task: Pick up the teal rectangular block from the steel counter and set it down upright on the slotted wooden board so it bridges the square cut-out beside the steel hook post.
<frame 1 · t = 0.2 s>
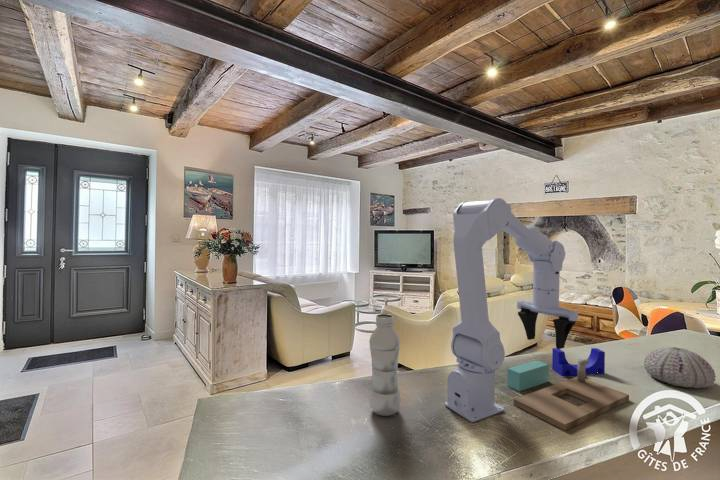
hand: (545, 343, 85), 10 cm above the countertop, tool pointing down, fingers open, 7 cm apart
plastic bottle: (384, 412, 71), on the countertop
sea urchin shell: (677, 381, 85), on the countertop
slotted wooden board: (572, 402, 74), on the countertop
blue concave arch block: (579, 374, 90), on the countertop
teal rectangular block: (528, 384, 84), on the countertop
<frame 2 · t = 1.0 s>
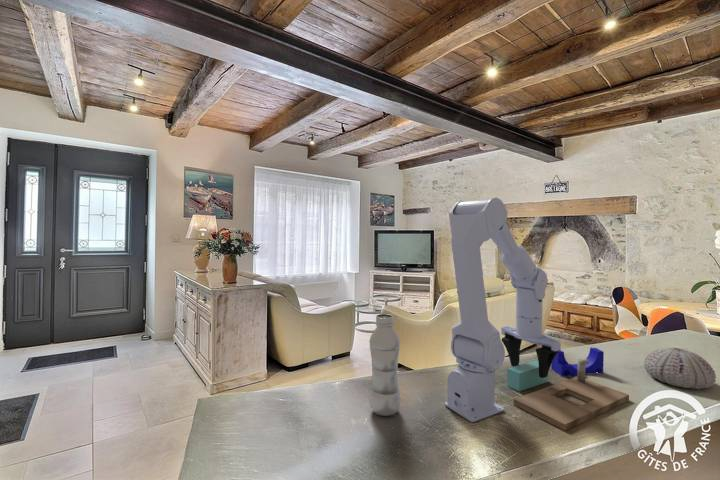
hand: (528, 371, 84), 3 cm above the countertop, tool pointing down, fingers open, 7 cm apart
nothing on the countertop moved.
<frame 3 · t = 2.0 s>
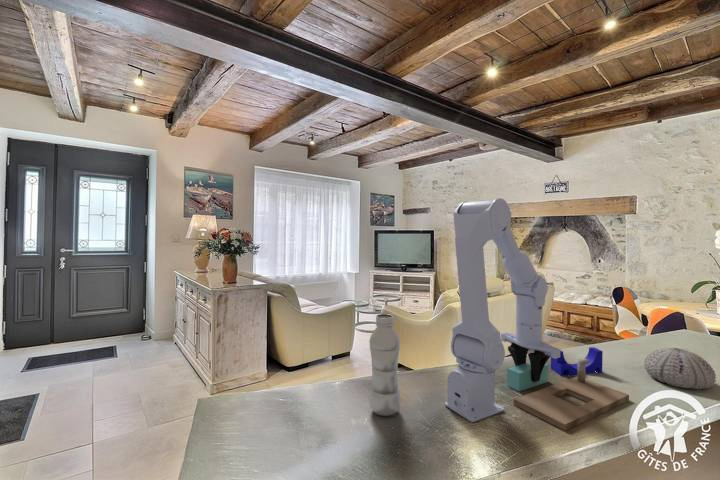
hand: (528, 377, 84), 1 cm above the countertop, tool pointing down, fingers closed on teal rectangular block, 3 cm apart
teal rectangular block: (528, 384, 84), on the countertop, touching gripper
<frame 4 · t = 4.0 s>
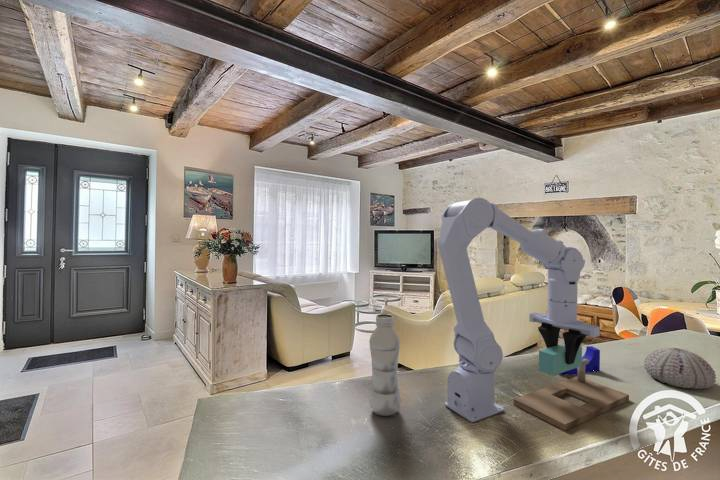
hand: (561, 360, 76), 8 cm above the countertop, tool pointing down, fingers closed on teal rectangular block, 3 cm apart
teal rectangular block: (560, 368, 76), point 7 cm above the countertop, touching gripper
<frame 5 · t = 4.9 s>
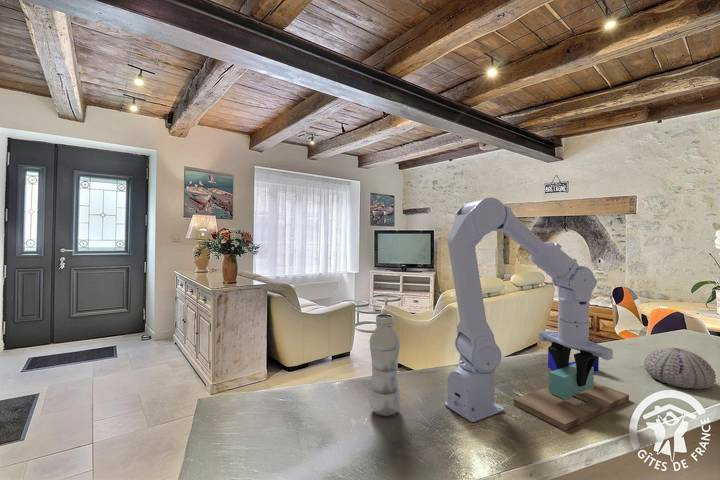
hand: (572, 381, 74), 5 cm above the countertop, tool pointing down, fingers closed on teal rectangular block, 3 cm apart
teal rectangular block: (571, 390, 74), point 3 cm above the countertop, touching gripper
when the fingers open (4 cm above the countertop, at t = 5.8 s): teal rectangular block stays where it is, resting on slotted wooden board.
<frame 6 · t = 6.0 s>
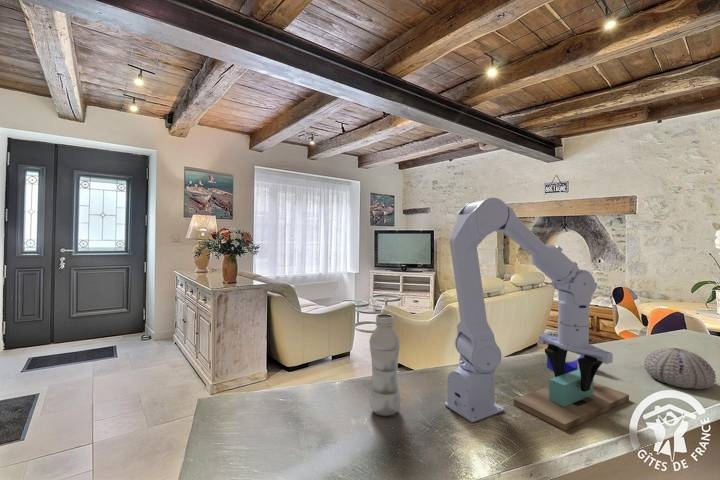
hand: (572, 385, 74), 4 cm above the countertop, tool pointing down, fingers open, 5 cm apart
teal rectangular block: (571, 397, 74), point 1 cm above the countertop, touching slotted wooden board
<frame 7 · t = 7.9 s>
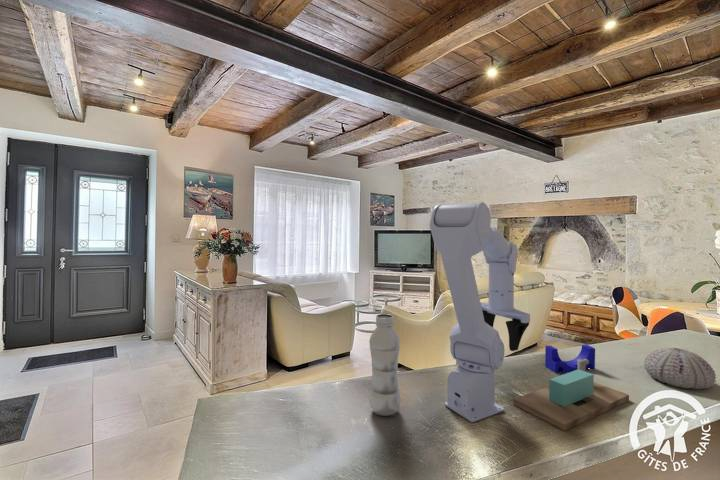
hand: (500, 345, 84), 9 cm above the countertop, tool pointing down, fingers open, 7 cm apart
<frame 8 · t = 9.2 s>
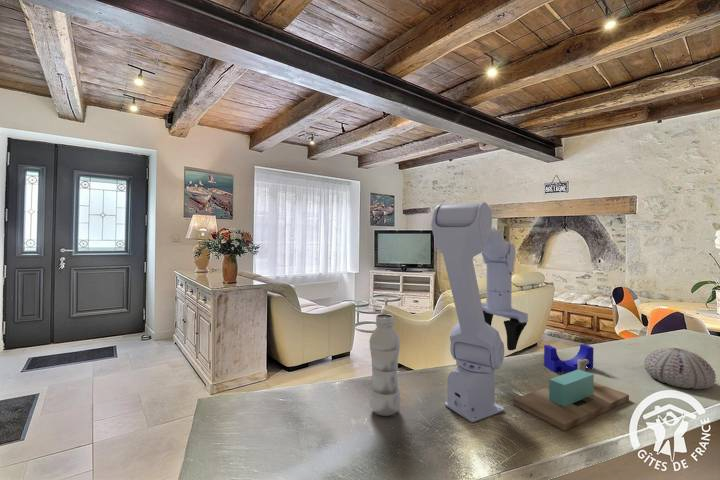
hand: (498, 344, 84), 9 cm above the countertop, tool pointing down, fingers open, 7 cm apart
at the end: teal rectangular block 0.2 cm from the target spot, point 1.2 cm above the countertop; teal rectangular block tilted 0°; the gripper is holding nothing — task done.
